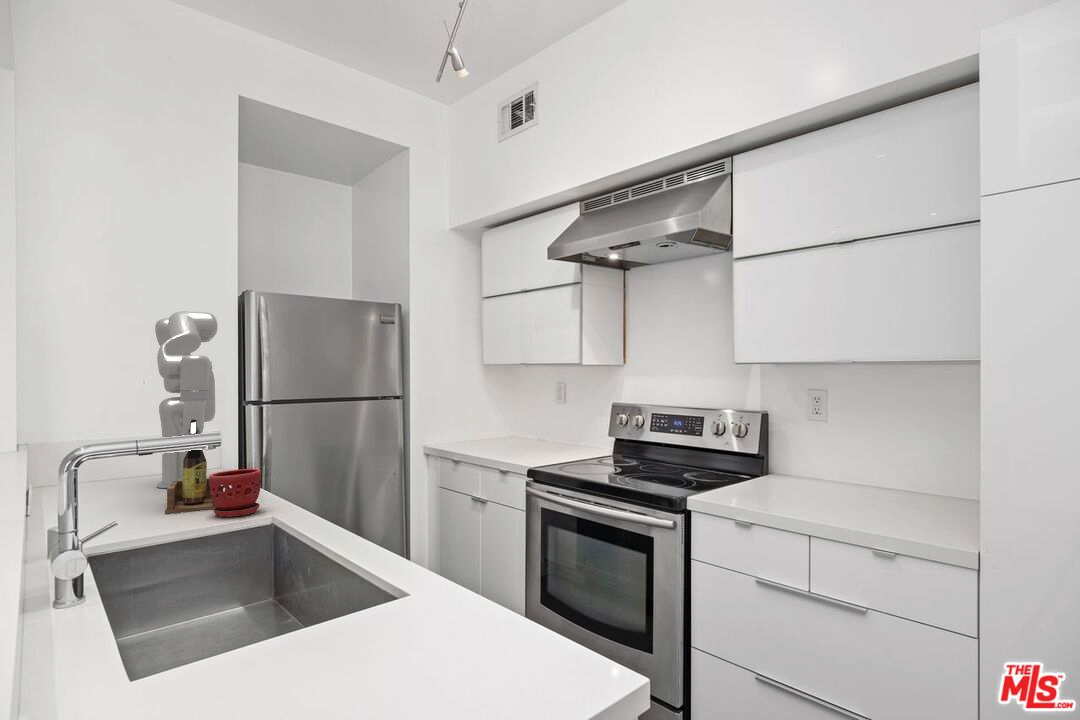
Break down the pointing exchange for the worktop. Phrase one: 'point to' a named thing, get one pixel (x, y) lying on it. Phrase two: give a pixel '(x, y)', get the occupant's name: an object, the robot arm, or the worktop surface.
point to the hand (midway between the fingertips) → (194, 456)
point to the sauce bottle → (194, 479)
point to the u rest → (178, 506)
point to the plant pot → (235, 491)
